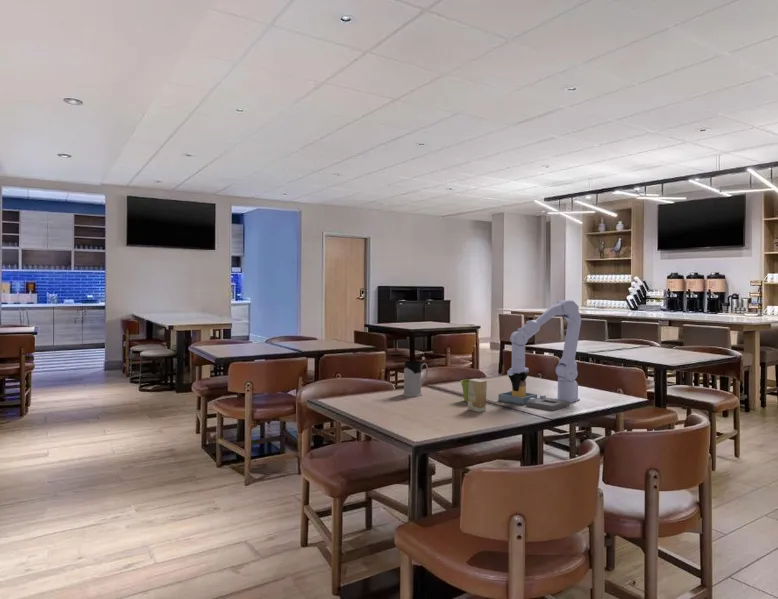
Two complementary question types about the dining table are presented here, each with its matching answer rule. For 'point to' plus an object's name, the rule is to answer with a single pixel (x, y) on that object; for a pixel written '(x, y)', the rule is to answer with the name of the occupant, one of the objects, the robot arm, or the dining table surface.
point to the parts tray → (515, 398)
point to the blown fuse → (520, 390)
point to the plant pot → (465, 389)
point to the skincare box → (477, 395)
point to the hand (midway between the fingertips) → (517, 390)
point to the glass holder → (413, 378)
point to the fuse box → (546, 403)
